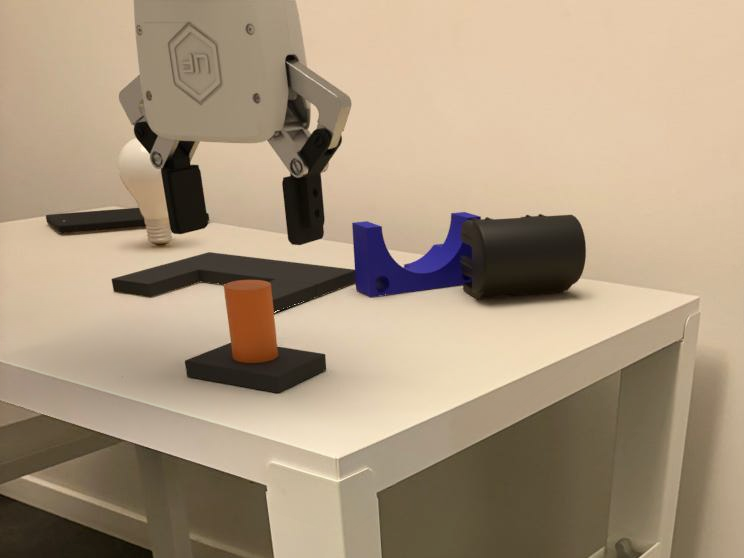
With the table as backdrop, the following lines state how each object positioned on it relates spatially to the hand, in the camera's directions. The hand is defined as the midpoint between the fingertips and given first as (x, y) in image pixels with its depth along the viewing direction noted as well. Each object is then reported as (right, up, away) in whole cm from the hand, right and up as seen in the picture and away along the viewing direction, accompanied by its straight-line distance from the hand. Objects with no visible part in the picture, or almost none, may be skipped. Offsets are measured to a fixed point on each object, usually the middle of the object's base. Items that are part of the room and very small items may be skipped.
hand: (247, 236), depth 66 cm
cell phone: (-28, +24, +56) cm, 67 cm away
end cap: (+19, +5, +26) cm, 33 cm away
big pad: (-7, +7, +28) cm, 29 cm away
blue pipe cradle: (+9, +7, +29) cm, 31 cm away
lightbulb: (-20, +17, +44) cm, 51 cm away
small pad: (0, -8, +5) cm, 9 cm away
